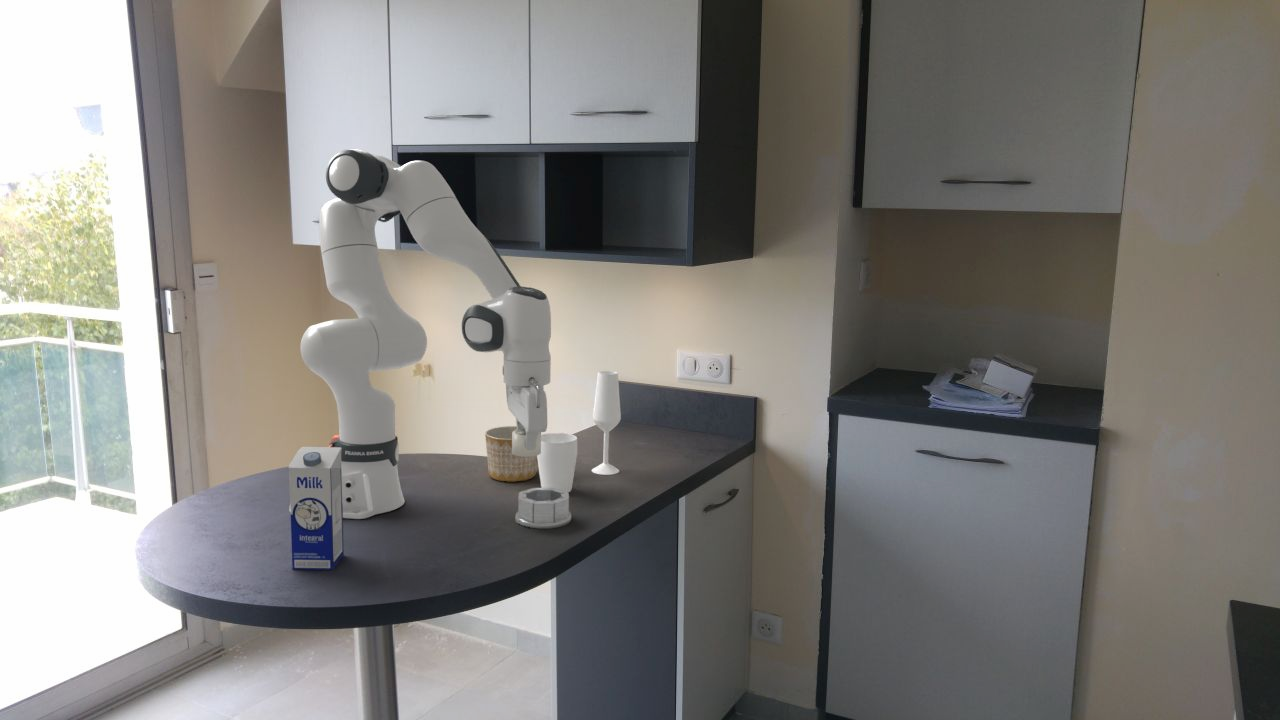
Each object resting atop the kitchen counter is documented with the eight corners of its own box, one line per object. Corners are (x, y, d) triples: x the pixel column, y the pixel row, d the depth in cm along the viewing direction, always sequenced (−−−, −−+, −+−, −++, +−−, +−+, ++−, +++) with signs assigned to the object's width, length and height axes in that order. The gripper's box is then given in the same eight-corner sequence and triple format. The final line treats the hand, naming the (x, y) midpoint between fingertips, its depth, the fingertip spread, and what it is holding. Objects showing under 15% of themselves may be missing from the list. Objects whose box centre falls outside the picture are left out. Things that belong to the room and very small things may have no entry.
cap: (509, 456, 171) (510, 434, 170) (514, 448, 176) (514, 427, 176) (539, 457, 171) (539, 435, 170) (542, 449, 176) (542, 428, 176)
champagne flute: (609, 476, 213) (611, 376, 209) (585, 471, 216) (588, 372, 212) (624, 469, 218) (627, 372, 214) (601, 465, 222) (603, 368, 218)
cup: (570, 498, 196) (571, 444, 194) (530, 494, 198) (531, 441, 196) (581, 486, 205) (582, 434, 203) (543, 482, 206) (543, 431, 205)
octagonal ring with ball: (514, 529, 176) (514, 504, 175) (516, 510, 187) (516, 487, 186) (572, 528, 177) (572, 504, 177) (570, 509, 188) (570, 486, 188)
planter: (531, 486, 204) (531, 441, 202) (477, 481, 206) (477, 437, 204) (545, 470, 216) (546, 427, 214) (495, 466, 218) (495, 424, 216)
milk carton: (344, 555, 161) (342, 446, 157) (333, 570, 154) (330, 456, 151) (304, 554, 160) (300, 445, 157) (291, 569, 154) (287, 455, 151)
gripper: (556, 383, 162) (555, 457, 165) (532, 363, 181) (531, 431, 184) (521, 384, 160) (521, 460, 163) (500, 364, 179) (500, 432, 182)
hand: (526, 444), depth 173 cm, fingers closed on cap, 5 cm apart
